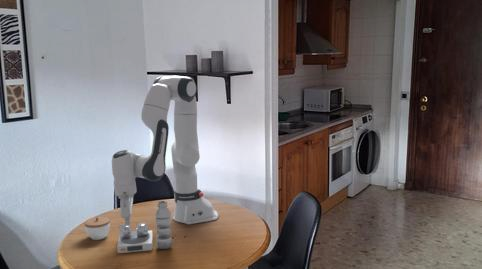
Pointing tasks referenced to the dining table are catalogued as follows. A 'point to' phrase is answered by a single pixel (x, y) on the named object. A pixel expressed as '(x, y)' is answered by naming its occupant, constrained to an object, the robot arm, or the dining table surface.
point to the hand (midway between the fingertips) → (128, 220)
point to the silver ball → (142, 230)
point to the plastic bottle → (163, 226)
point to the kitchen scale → (135, 243)
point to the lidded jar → (97, 227)
